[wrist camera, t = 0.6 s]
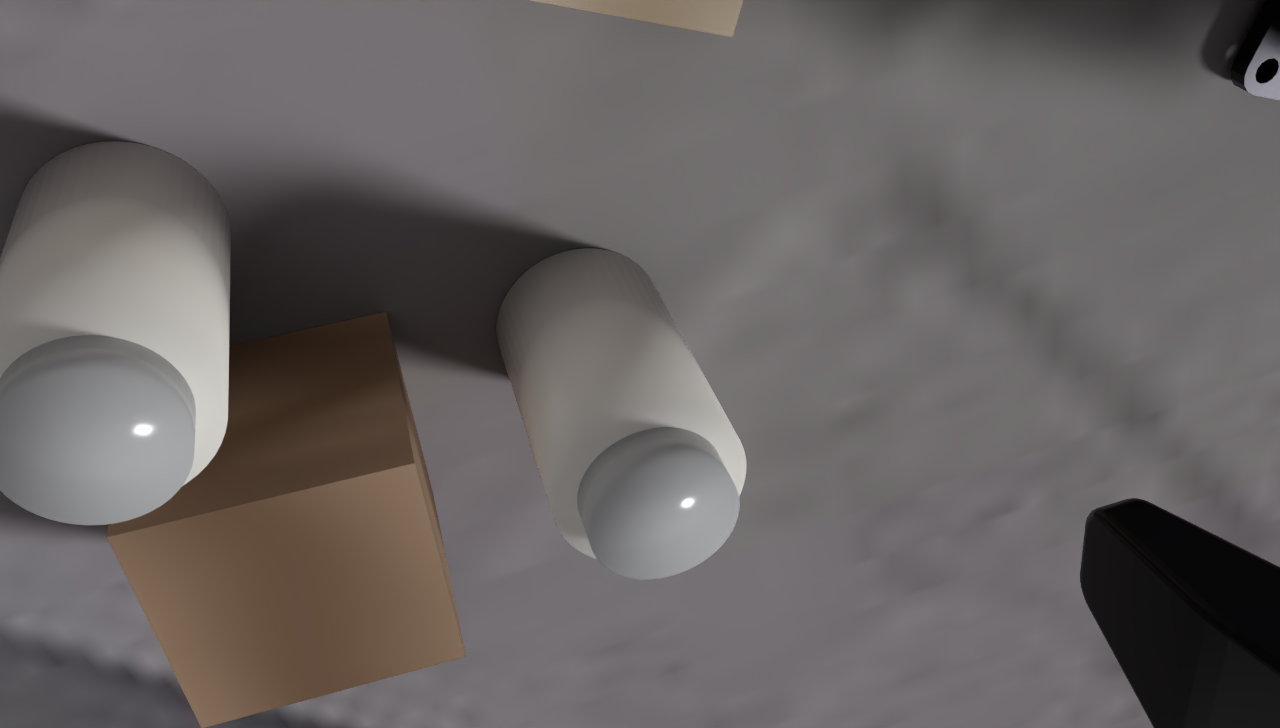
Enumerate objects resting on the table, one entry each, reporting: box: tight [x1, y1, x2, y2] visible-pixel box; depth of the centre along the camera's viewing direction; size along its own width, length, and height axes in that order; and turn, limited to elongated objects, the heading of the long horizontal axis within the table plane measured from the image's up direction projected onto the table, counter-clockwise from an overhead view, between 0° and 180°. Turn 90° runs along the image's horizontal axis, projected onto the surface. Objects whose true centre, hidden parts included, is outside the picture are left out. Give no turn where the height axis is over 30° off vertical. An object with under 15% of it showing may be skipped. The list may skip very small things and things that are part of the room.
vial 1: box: [0, 141, 231, 525], centre depth 17 cm, size 3×3×6 cm
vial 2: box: [497, 248, 746, 579], centre depth 20 cm, size 3×3×6 cm
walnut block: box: [107, 312, 466, 728], centre depth 20 cm, size 4×4×4 cm
